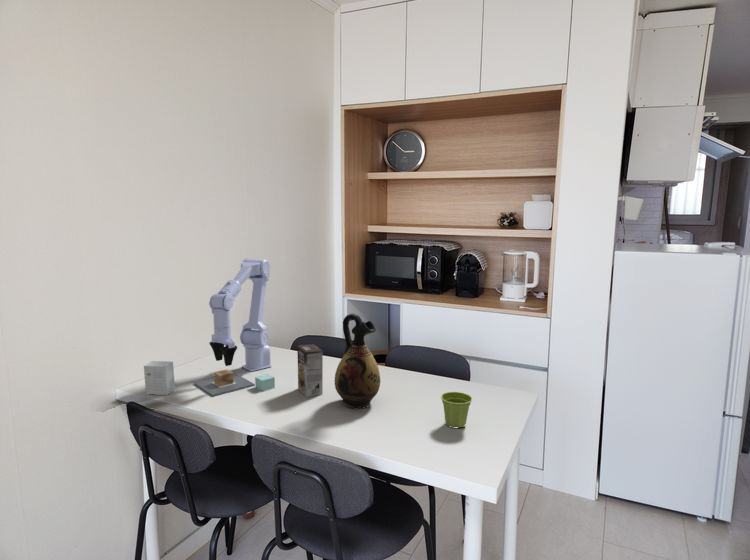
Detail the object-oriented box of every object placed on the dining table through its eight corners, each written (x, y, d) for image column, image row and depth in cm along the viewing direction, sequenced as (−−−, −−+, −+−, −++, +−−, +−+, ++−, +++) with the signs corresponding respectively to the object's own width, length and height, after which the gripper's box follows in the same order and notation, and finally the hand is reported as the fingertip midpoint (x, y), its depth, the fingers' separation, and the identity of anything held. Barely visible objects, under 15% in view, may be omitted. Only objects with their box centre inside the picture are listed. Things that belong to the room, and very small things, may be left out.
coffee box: (297, 388, 179) (296, 345, 176) (314, 385, 182) (313, 343, 179) (305, 397, 171) (305, 352, 168) (323, 394, 174) (322, 349, 171)
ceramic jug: (389, 400, 169) (390, 314, 164) (362, 416, 156) (363, 323, 152) (349, 389, 178) (349, 308, 174) (321, 403, 166) (320, 316, 161)
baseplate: (234, 374, 193) (234, 372, 193) (254, 385, 182) (254, 383, 181) (194, 384, 183) (193, 382, 182) (212, 396, 171) (212, 394, 171)
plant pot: (444, 415, 157) (444, 389, 156) (473, 420, 154) (474, 394, 152) (436, 428, 149) (437, 400, 147) (468, 433, 145) (469, 405, 144)
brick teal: (267, 384, 183) (267, 373, 183) (274, 387, 180) (274, 377, 179) (255, 387, 180) (255, 376, 180) (262, 391, 176) (262, 380, 176)
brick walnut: (227, 379, 185) (226, 369, 185) (233, 383, 182) (233, 372, 181) (214, 382, 182) (214, 372, 181) (220, 386, 178) (220, 375, 178)
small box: (175, 389, 177) (173, 361, 175) (167, 395, 171) (165, 366, 170) (154, 388, 178) (152, 360, 176) (145, 394, 172) (143, 365, 171)
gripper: (203, 324, 181) (204, 360, 183) (220, 332, 171) (222, 370, 173) (221, 321, 186) (222, 356, 188) (239, 328, 175) (240, 365, 177)
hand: (223, 362), depth 181 cm, fingers open, 7 cm apart
